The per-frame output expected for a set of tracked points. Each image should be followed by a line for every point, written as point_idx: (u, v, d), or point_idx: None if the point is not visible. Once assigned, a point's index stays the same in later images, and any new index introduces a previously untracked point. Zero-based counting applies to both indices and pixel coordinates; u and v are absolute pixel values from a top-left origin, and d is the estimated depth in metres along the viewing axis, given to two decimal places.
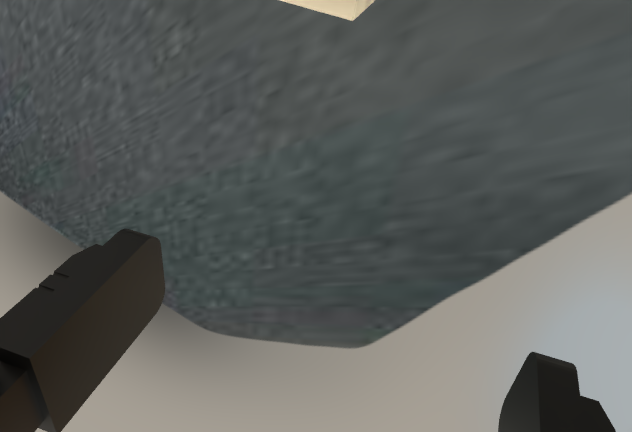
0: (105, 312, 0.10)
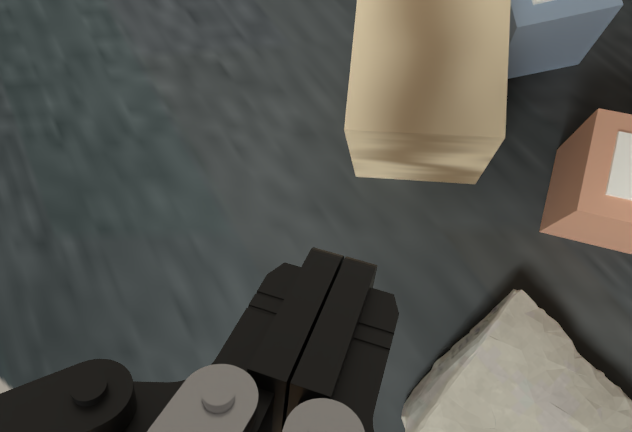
0: None
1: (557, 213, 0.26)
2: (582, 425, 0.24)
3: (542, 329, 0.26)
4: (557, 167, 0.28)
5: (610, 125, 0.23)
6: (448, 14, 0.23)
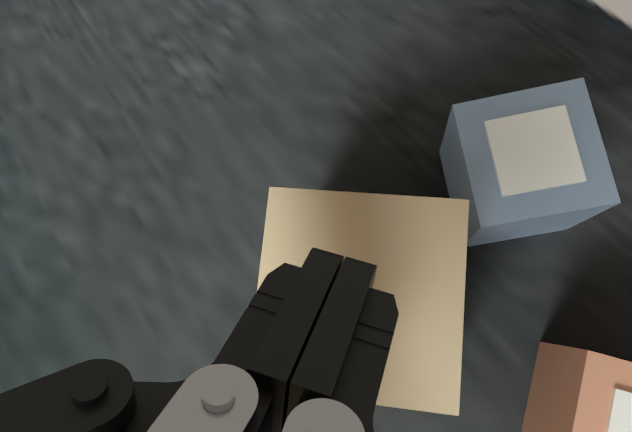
0: None
1: None
2: None
3: None
4: (539, 374, 0.22)
5: (604, 376, 0.17)
6: (386, 227, 0.17)
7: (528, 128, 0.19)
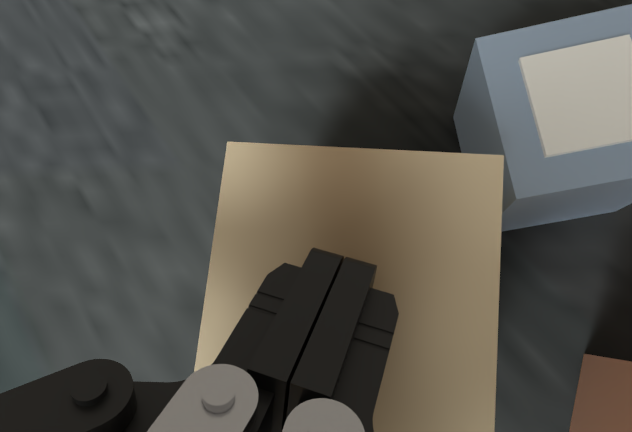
0: None
1: None
2: None
3: None
4: (586, 396, 0.17)
5: None
6: (386, 195, 0.12)
7: (579, 66, 0.14)
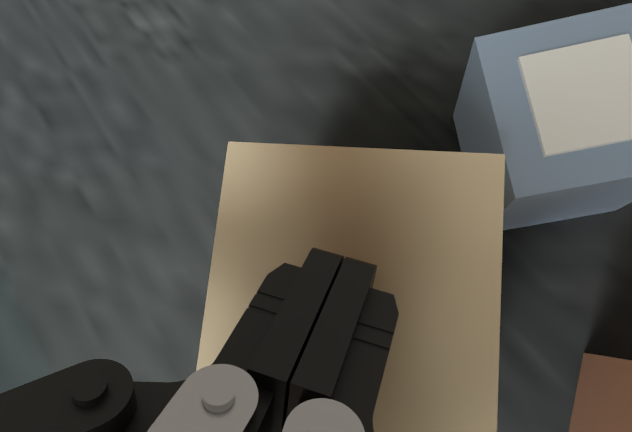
0: None
1: None
2: None
3: None
4: (585, 395, 0.17)
5: None
6: (388, 194, 0.12)
7: (578, 65, 0.14)
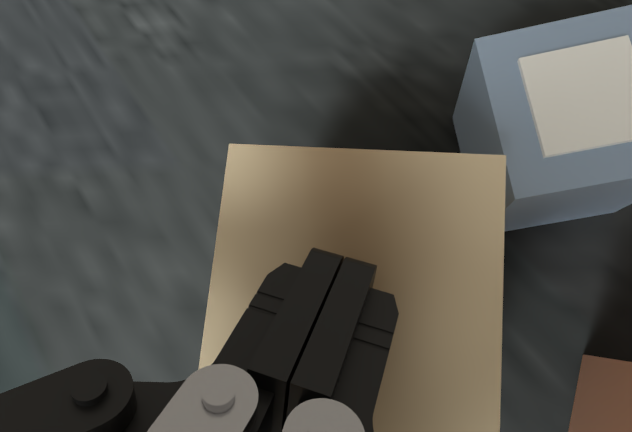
0: None
1: None
2: None
3: None
4: (585, 397, 0.17)
5: None
6: (389, 196, 0.12)
7: (578, 66, 0.14)
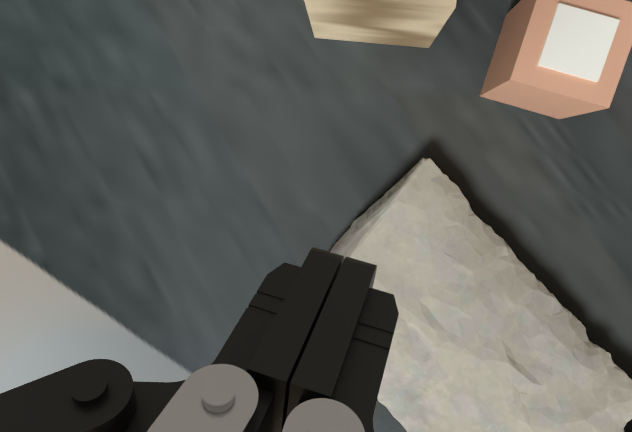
0: None
1: (495, 80, 0.28)
2: (467, 269, 0.30)
3: (443, 193, 0.30)
4: (503, 33, 0.30)
5: None
6: None
7: None
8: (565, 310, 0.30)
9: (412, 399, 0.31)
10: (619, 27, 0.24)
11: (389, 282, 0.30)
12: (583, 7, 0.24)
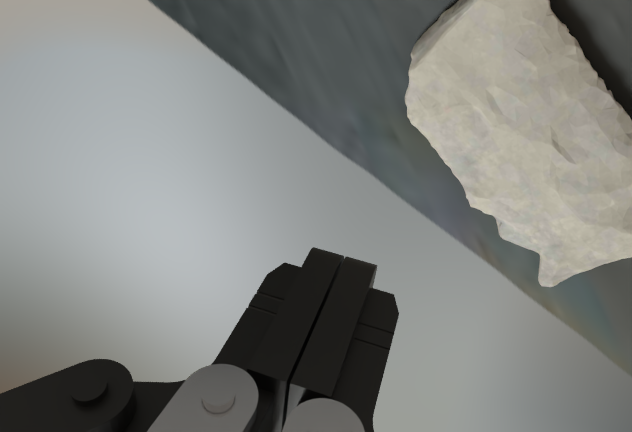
0: None
1: None
2: (533, 65, 0.34)
3: None
4: None
5: None
6: None
7: None
8: (617, 106, 0.35)
9: (469, 163, 0.40)
10: None
11: (463, 71, 0.36)
12: None
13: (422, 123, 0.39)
